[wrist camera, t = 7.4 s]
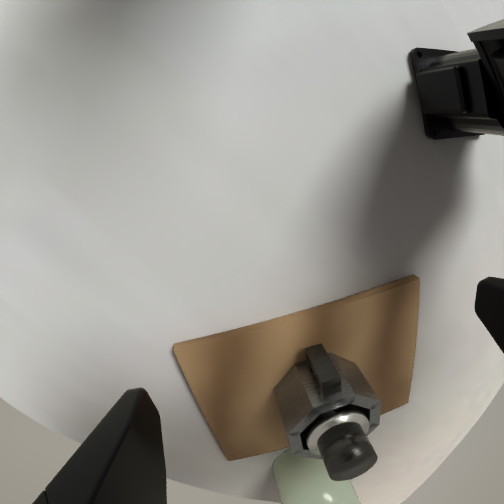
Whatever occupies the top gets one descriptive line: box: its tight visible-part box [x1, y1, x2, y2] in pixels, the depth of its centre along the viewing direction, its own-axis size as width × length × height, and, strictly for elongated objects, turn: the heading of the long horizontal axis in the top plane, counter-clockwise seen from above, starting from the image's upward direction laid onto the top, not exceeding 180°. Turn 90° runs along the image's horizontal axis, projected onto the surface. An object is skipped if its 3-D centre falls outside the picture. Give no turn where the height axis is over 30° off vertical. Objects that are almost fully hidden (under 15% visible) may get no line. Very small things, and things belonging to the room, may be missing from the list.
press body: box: [273, 343, 381, 459], centre depth 21 cm, size 7×8×5 cm
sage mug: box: [272, 449, 361, 504], centre depth 25 cm, size 7×9×8 cm
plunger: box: [306, 410, 377, 481], centre depth 19 cm, size 4×4×7 cm
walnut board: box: [174, 275, 420, 461], centre depth 24 cm, size 18×14×1 cm
